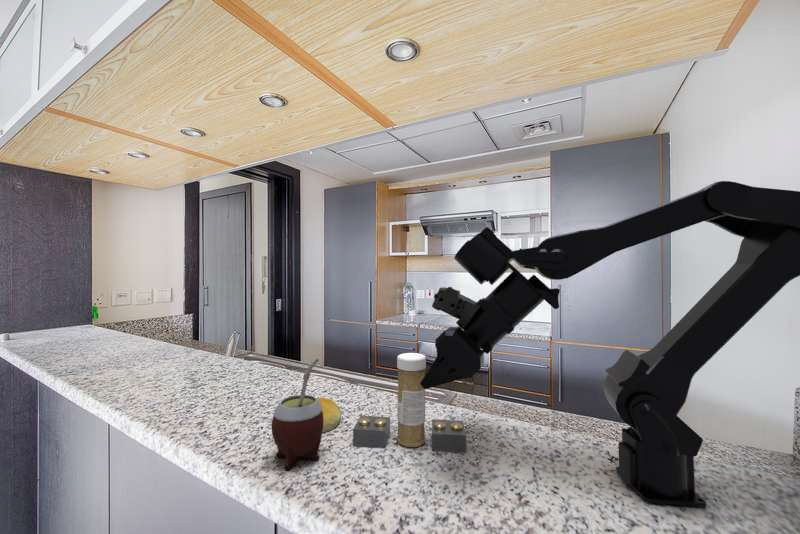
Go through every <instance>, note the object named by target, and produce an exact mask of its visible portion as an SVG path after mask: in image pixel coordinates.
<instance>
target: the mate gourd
mask: <svg viewBox="0 0 800 534" xmlns="http://www.w3.org/2000/svg"><path fill="white" fill-rule="evenodd" d="M319 361H320V359H319V358H317V359H315V360H314V361H312V362H311V363H310V364H309V366H308V367H307V369H306V370H305V371H304V373H303V377H302V378H303V381H302V386H301V391H300V394H299V395H291V396H289V397H286V398H284V399H282V400H280V402H278V404H277V406H275V410H274V412H273V415H272V416H273V417H272V420H271V434H272V439H273V441H274V443H275V446H276V447H277V453H276V454H275V458H276V459H281V460H286V465H285V466H284V471H285V472H291V470H293V469H294V467H295V466H296V465H297V463H298V462H301V461H303V462H319V460H320V455H318V454H319V453H318V452H319V448H320V446H321V443H322V442H321V441H322V434H323V433H322V430H323V423H324V420H323V411H322V405H321V404H320V402H319V401H318V399H316V398H317V397H315V396H312V395H310V394H306V391H307V385H308V382H309V379H310V376H311V371H312V370H313V368H314V367H315V365H316V364H317V363H318V362H319ZM305 394H306V395H305Z"/></svg>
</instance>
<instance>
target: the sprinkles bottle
mask: <svg viewBox="0 0 800 534" xmlns="http://www.w3.org/2000/svg"><path fill="white" fill-rule="evenodd" d="M426 359H427V357H426V355H424V354H422V353H417V352H404V353H400V354H398V355H397V358H396V364H397V365H396V368H397V370H398V374H397V377H398V378H397V379H398V380H397V418H396V419H397V436H396V440H397V443H399V445H401V446H403V447H407V448H417V447H421V446H422V445H424V444H425V443H426V436H425V432H426V431H425V421H426V389H424V388H423V387H422V386H421V385H420V382H421V381H422V379H423V378H424V376H425V375H426V373H425V372H426V368H427V360H426Z"/></svg>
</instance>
